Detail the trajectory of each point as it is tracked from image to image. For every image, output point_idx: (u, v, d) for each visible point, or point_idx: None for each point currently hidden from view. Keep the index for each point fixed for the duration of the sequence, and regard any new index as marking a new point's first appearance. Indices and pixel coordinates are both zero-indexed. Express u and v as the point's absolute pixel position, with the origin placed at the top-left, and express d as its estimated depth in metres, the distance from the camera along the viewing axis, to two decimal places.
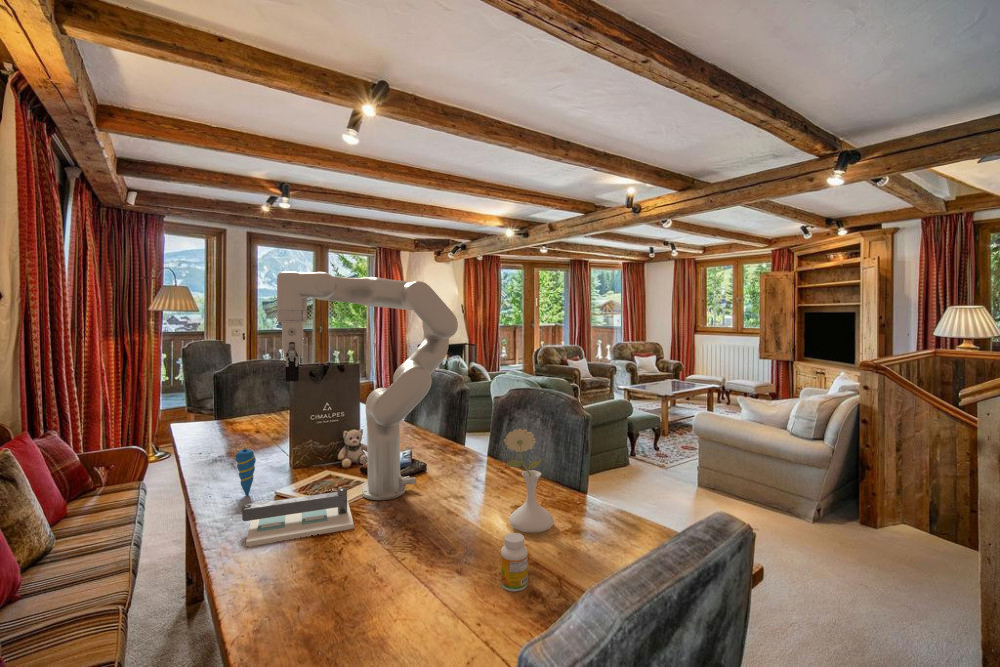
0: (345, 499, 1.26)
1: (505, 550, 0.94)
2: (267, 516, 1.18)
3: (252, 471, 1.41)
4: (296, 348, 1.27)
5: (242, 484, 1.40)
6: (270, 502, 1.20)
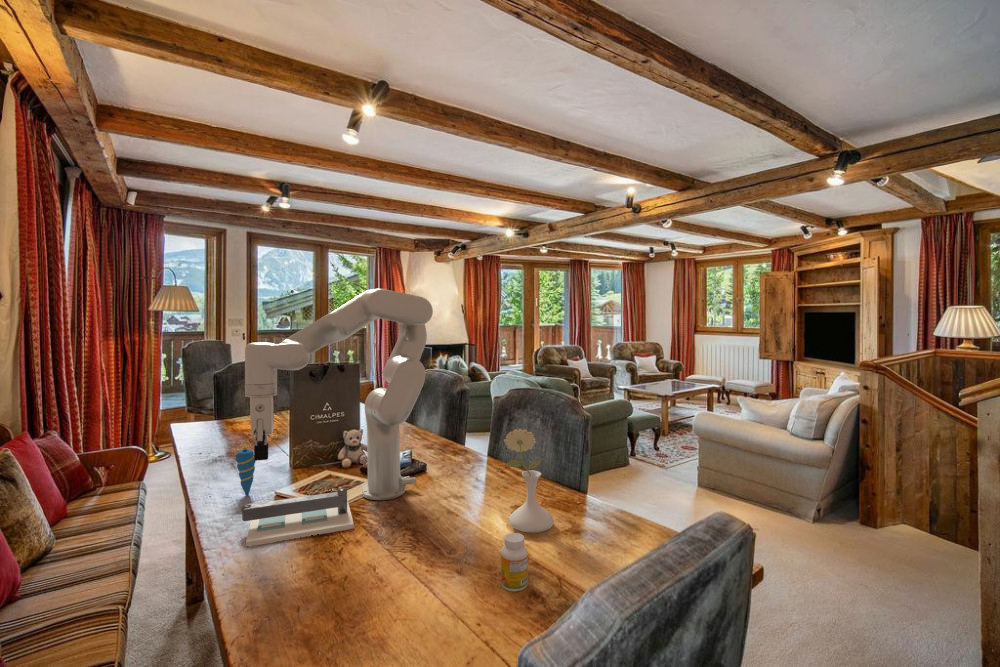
0: (345, 499, 1.26)
1: (505, 550, 0.94)
2: (267, 516, 1.18)
3: (252, 471, 1.41)
4: (264, 425, 1.21)
5: (242, 484, 1.40)
6: (270, 502, 1.20)
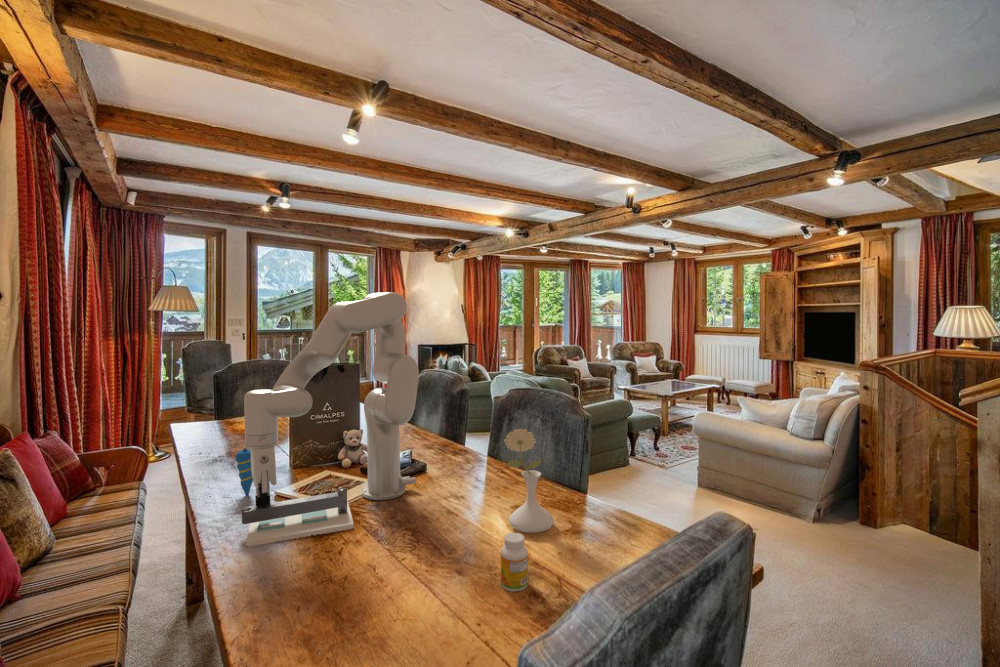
0: (345, 499, 1.26)
1: (505, 550, 0.94)
2: (268, 518, 1.17)
3: None
4: (269, 476, 1.17)
5: (242, 484, 1.40)
6: (270, 504, 1.19)
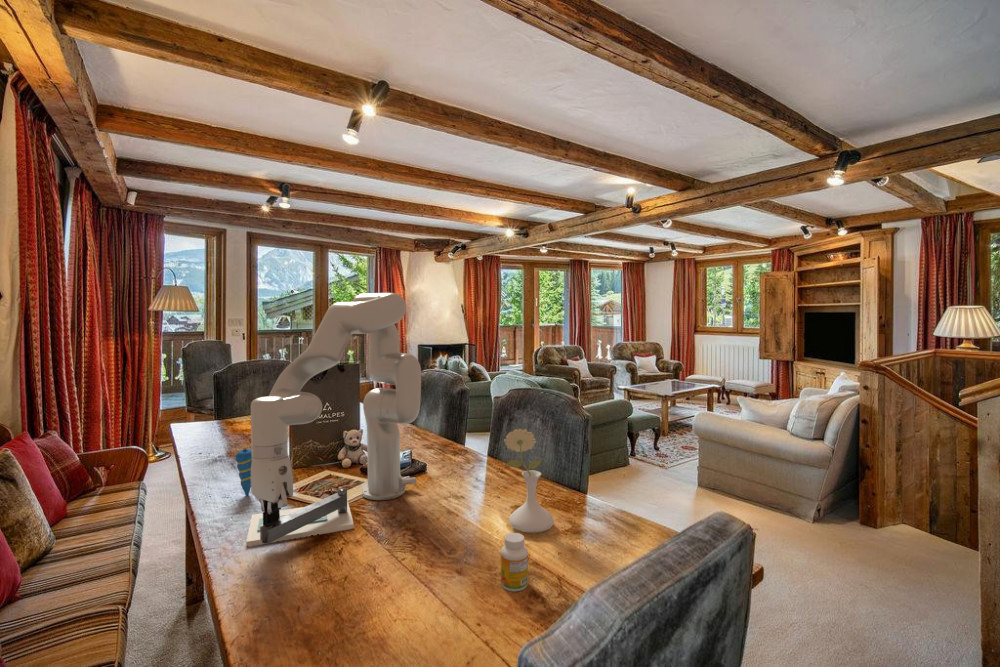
0: (346, 498, 1.27)
1: (505, 550, 0.94)
2: (289, 531, 1.10)
3: None
4: (288, 488, 1.09)
5: (242, 484, 1.40)
6: (284, 517, 1.11)
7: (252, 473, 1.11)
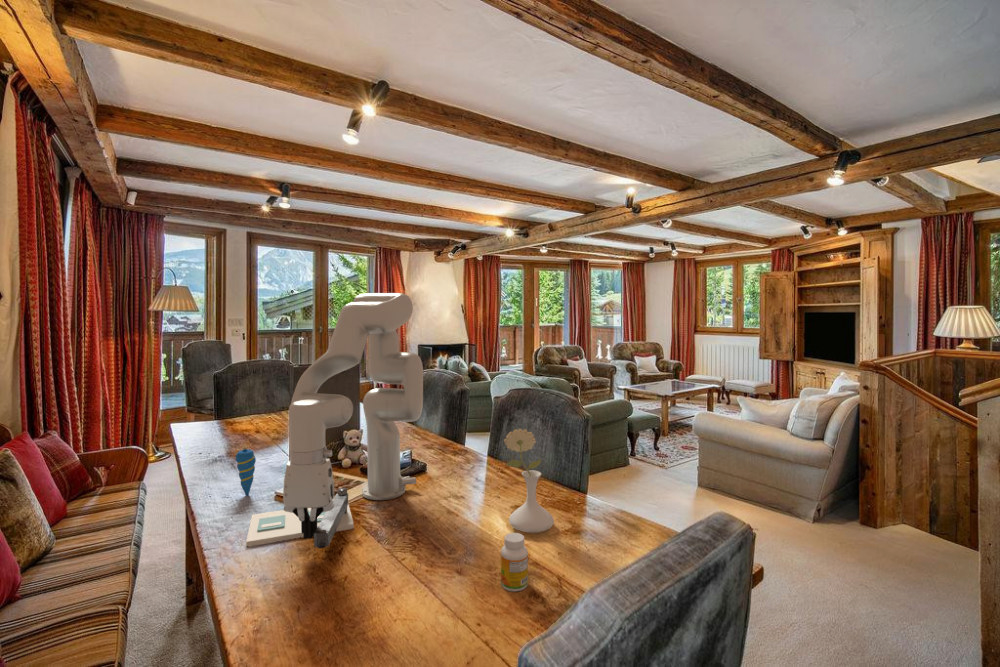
0: None
1: (505, 550, 0.94)
2: (333, 533, 1.09)
3: (252, 471, 1.41)
4: (333, 490, 1.08)
5: (242, 484, 1.40)
6: (324, 521, 1.09)
7: (288, 483, 1.05)
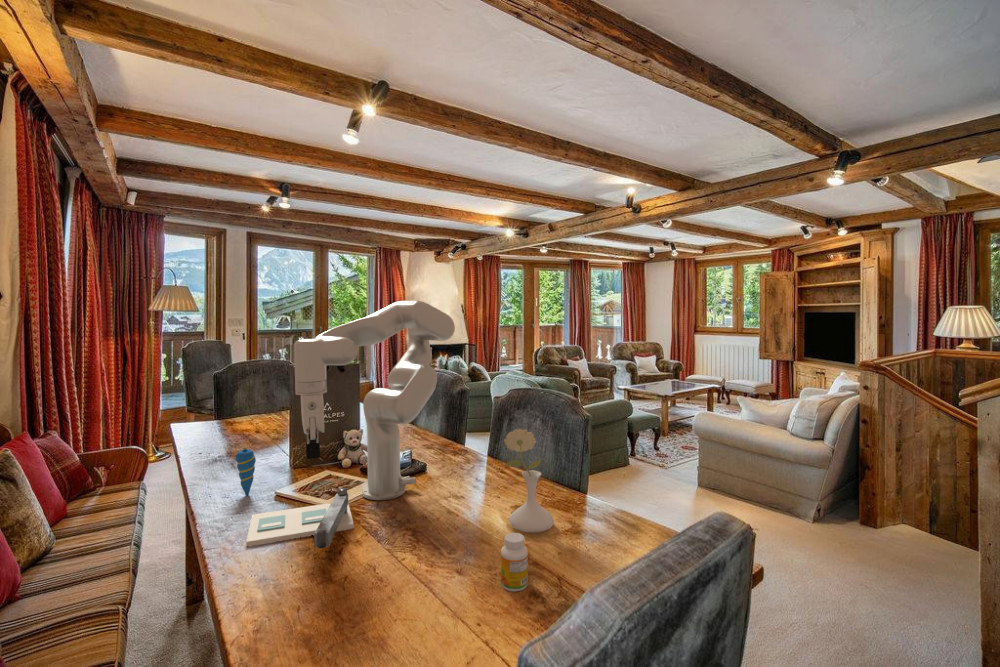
0: None
1: (505, 550, 0.94)
2: (333, 533, 1.09)
3: (252, 471, 1.41)
4: (317, 423, 1.18)
5: (242, 484, 1.40)
6: (324, 521, 1.09)
7: None
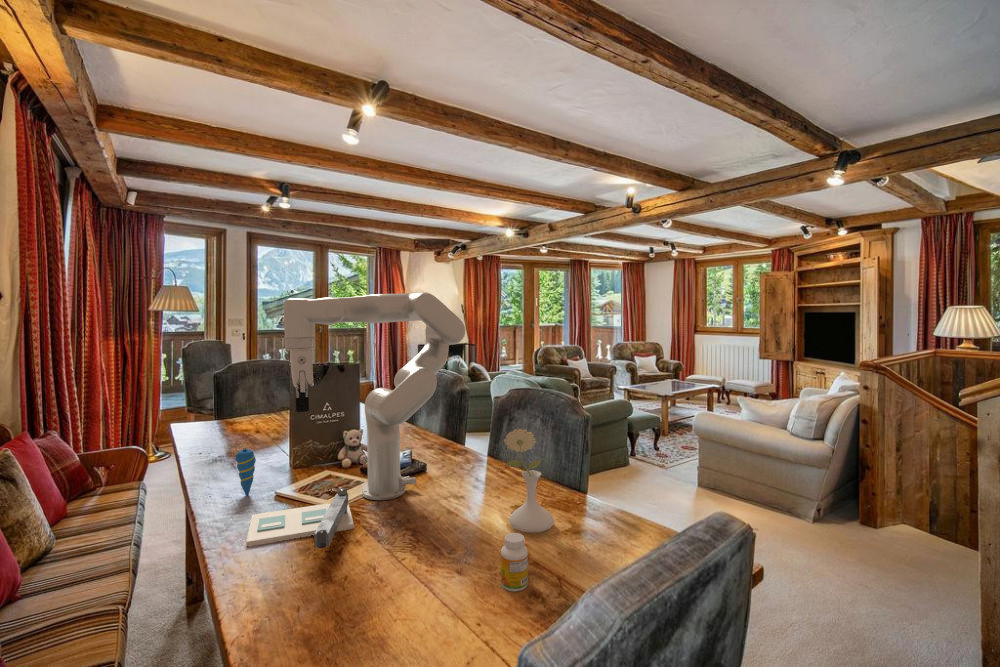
0: None
1: (505, 550, 0.94)
2: (333, 533, 1.09)
3: (252, 471, 1.41)
4: (306, 376, 1.25)
5: (242, 484, 1.40)
6: (324, 521, 1.09)
7: None
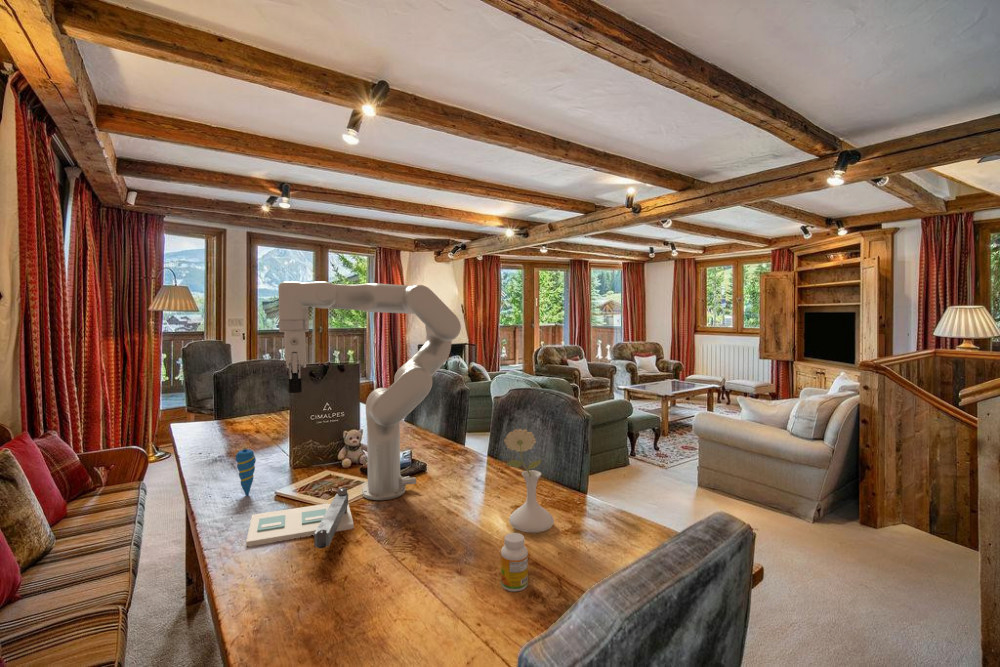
0: None
1: (505, 550, 0.94)
2: (333, 533, 1.09)
3: (252, 471, 1.41)
4: (299, 358, 1.28)
5: (242, 484, 1.40)
6: (324, 521, 1.09)
7: None
